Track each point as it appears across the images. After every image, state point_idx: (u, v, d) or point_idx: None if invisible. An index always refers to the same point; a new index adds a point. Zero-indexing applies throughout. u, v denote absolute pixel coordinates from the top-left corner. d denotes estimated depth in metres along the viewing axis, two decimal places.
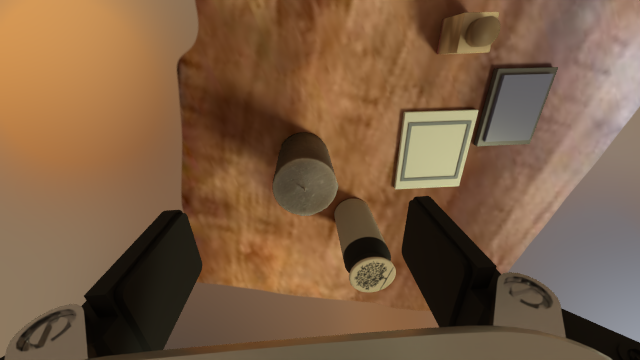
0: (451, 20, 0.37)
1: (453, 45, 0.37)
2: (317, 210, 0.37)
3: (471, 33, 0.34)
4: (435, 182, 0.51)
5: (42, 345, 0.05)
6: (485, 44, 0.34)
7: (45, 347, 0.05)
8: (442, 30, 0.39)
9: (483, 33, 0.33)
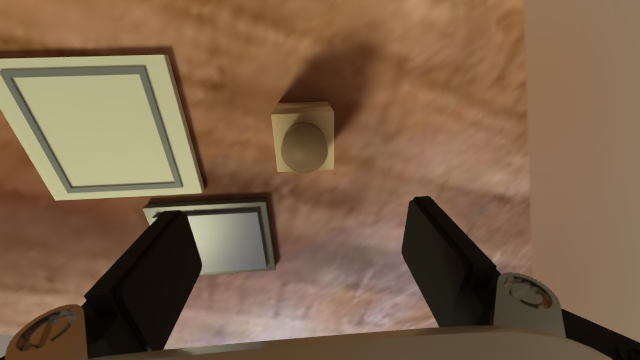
0: (324, 105, 0.22)
1: (285, 111, 0.20)
2: None
3: (301, 126, 0.18)
4: (39, 154, 0.24)
5: (42, 345, 0.05)
6: (284, 155, 0.19)
7: (45, 347, 0.05)
8: (312, 102, 0.24)
9: (301, 146, 0.18)
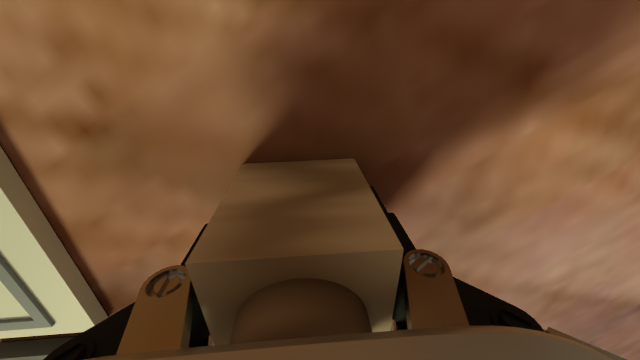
0: (355, 187, 0.08)
1: (244, 225, 0.07)
2: None
3: (291, 335, 0.05)
4: None
5: (160, 295, 0.06)
6: None
7: (161, 298, 0.06)
8: (321, 163, 0.11)
9: None
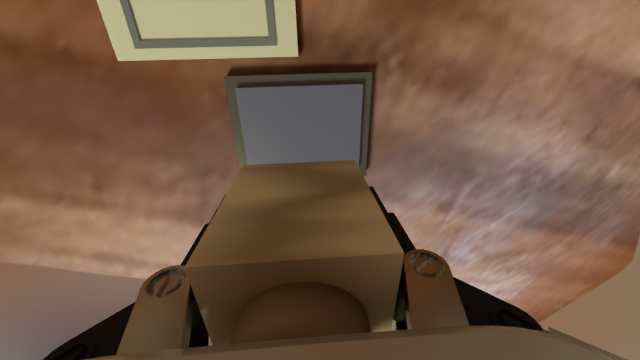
0: (355, 189, 0.08)
1: (244, 228, 0.07)
2: None
3: None
4: None
5: (160, 295, 0.06)
6: None
7: (161, 298, 0.06)
8: (321, 165, 0.10)
9: None
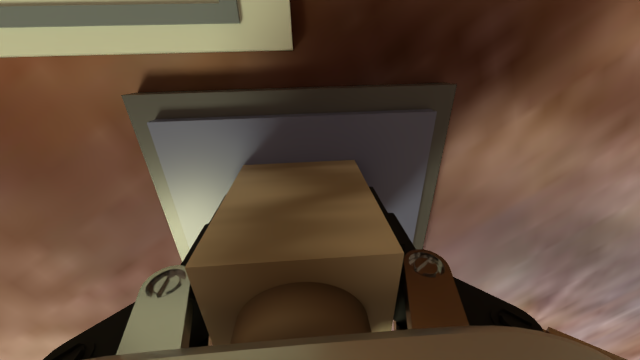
0: (355, 189, 0.08)
1: (244, 228, 0.07)
2: None
3: None
4: None
5: (160, 295, 0.06)
6: None
7: (161, 298, 0.06)
8: (321, 165, 0.10)
9: None
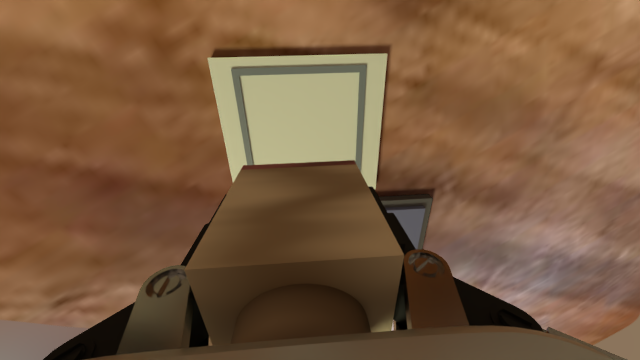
0: (355, 190, 0.08)
1: (244, 230, 0.07)
2: None
3: None
4: (237, 150, 0.25)
5: (160, 295, 0.06)
6: None
7: (161, 298, 0.06)
8: (321, 165, 0.10)
9: None
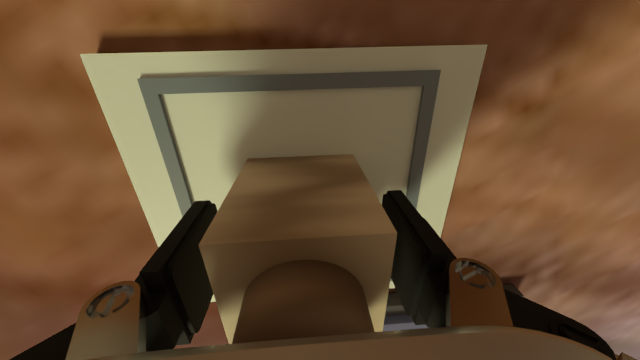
0: (353, 179, 0.09)
1: (251, 213, 0.07)
2: None
3: (295, 306, 0.05)
4: None
5: (105, 315, 0.06)
6: None
7: (107, 318, 0.06)
8: (321, 158, 0.11)
9: None
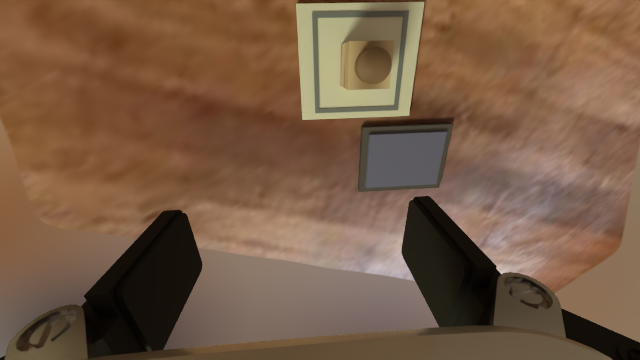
0: None
1: None
2: None
3: (373, 47, 0.25)
4: (308, 79, 0.33)
5: (42, 345, 0.05)
6: (360, 69, 0.26)
7: (45, 347, 0.05)
8: None
9: (373, 61, 0.25)
